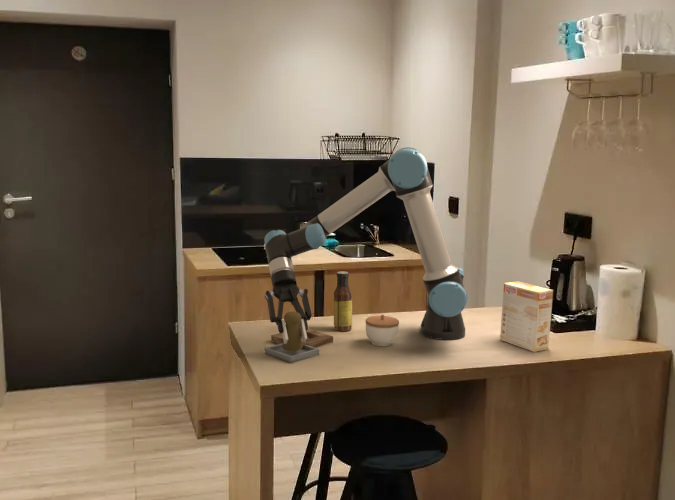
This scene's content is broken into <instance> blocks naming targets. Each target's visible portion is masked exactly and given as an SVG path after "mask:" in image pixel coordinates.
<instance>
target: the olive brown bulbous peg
mask: <svg viewBox="0 0 675 500" xmlns="http://www.w3.org/2000/svg"><path fill="white" fill-rule="evenodd" d="M283 320H285V324H286V330H287V335H288V341H287V344H284V340H283V346H282V348H283V349H284V350H287V351H297V350H301V349H302V342H301V341H302V337H301V333H300V324H299V323H300V322H301V315H300V313H298V312H296V311H288V312H286V313H285V314H284V315H283Z"/></svg>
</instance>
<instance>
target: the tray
mask: <svg viewBox="0 0 675 500" xmlns="http://www.w3.org/2000/svg"><path fill="white" fill-rule="evenodd" d="M282 346H283V343H282V344H278V343H277V344H275V345H271V346H268V347H264V354H265V355H267V356H270V357H272V358H276V359H278V360H281V361H284V362H287V363H289V364H294V363H297V362H300V361H303V360H307V359H309V358H310V359H311V358H313V357H316V356H320V349H319V347H311V346H308V345H304V349H302V350H297V351H287V350H284V349H283V348H282Z"/></svg>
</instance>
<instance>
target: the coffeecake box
mask: <svg viewBox="0 0 675 500" xmlns="http://www.w3.org/2000/svg"><path fill="white" fill-rule="evenodd" d="M502 293H503V294H502V306H501V307H502V309H501V310H502V311H501V322H500V325H501V326H500V334H499V341H503V342H505V343H509V344H511V345H514V346H516V347H519V348H522V349H525V350H528V351H530V352H533V353H537V352H541V351H546V350H549V346H550V345H549V343H550V332H551V323H552V322H551V321H552V309H553V296H554V289H550V288H546V287H541V286H538V285H535V284H530V283H526V282H522V281H511V282H509V281H508V282H504V283H503V292H502Z"/></svg>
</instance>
